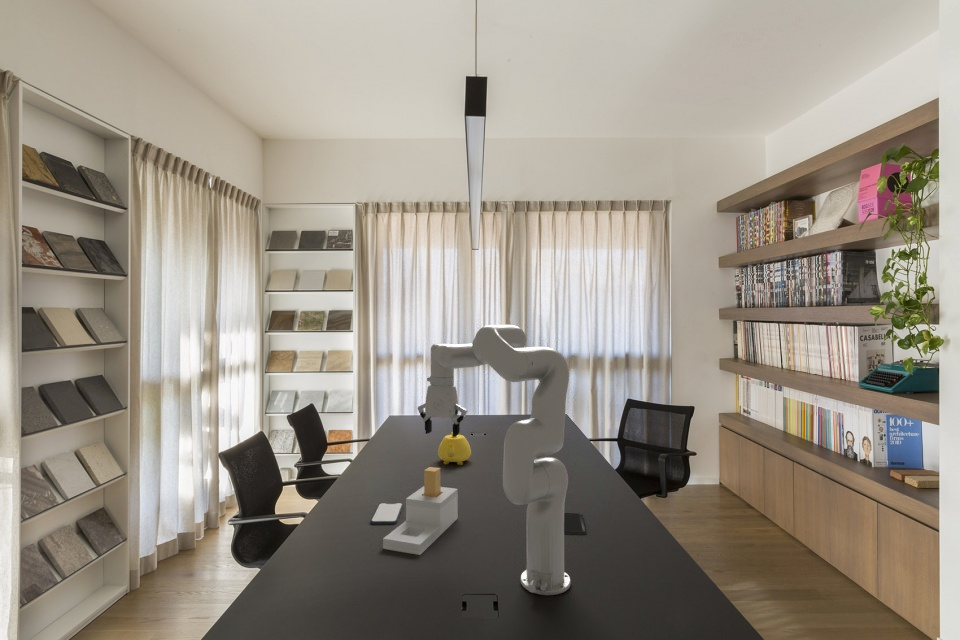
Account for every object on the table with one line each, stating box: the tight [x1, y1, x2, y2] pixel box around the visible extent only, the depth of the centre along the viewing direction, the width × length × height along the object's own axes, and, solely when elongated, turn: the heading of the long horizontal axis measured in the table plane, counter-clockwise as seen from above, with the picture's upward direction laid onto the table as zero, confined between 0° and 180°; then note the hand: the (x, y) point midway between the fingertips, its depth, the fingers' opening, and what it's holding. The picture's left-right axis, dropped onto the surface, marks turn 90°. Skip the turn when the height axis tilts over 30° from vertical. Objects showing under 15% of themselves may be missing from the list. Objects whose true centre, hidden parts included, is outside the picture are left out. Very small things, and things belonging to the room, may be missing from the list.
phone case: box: [370, 502, 404, 526], centre depth 176 cm, size 9×2×16 cm
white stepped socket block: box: [382, 485, 459, 556], centre depth 161 cm, size 28×12×10 cm, turn 160°
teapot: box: [437, 431, 472, 466], centre depth 238 cm, size 20×16×14 cm
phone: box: [564, 512, 587, 535], centre depth 167 cm, size 8×1×15 cm
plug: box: [423, 466, 442, 497], centre depth 168 cm, size 4×4×10 cm
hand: (441, 434), depth 166 cm, fingers open, 9 cm apart
